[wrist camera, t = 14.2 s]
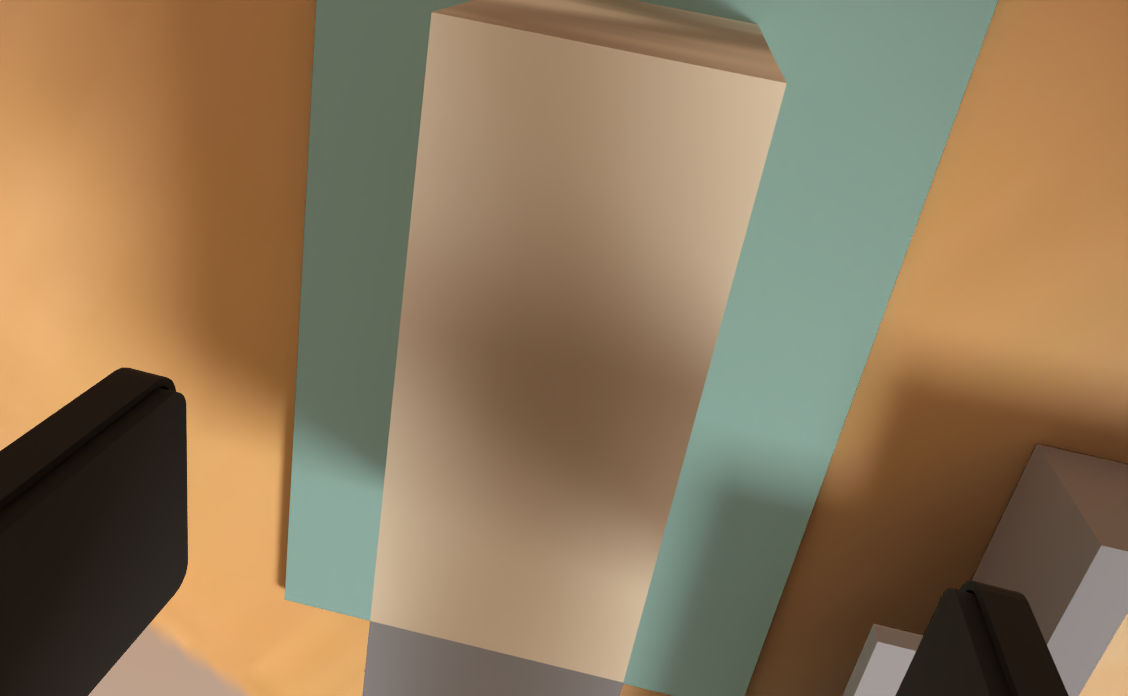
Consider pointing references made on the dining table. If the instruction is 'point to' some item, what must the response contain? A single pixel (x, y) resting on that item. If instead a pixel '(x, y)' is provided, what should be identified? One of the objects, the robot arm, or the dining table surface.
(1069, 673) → the open square frame
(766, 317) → the mat
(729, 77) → the block
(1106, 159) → the dining table surface
